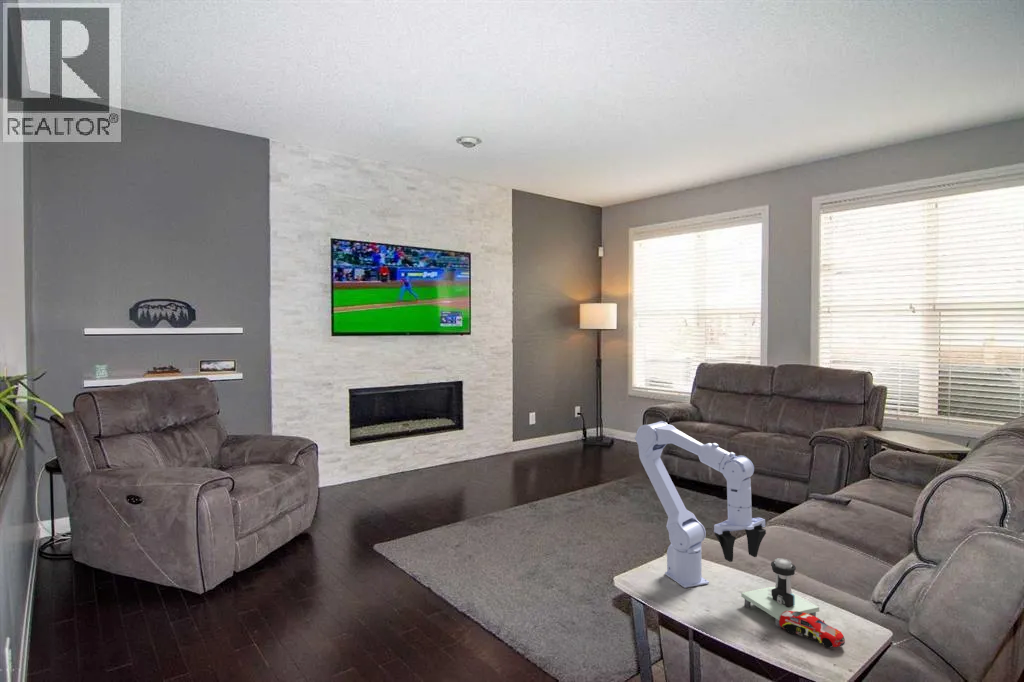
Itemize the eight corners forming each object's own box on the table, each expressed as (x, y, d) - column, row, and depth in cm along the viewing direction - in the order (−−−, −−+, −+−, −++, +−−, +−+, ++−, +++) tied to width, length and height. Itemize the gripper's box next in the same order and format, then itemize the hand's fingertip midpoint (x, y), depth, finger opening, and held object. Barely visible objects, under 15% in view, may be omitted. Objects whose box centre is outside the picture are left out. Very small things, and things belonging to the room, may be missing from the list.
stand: (741, 604, 135) (741, 592, 135) (779, 596, 139) (779, 585, 139) (779, 629, 124) (779, 616, 124) (819, 619, 128) (819, 607, 128)
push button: (761, 598, 132) (761, 557, 132) (775, 593, 135) (775, 553, 135) (786, 610, 127) (786, 567, 126) (800, 604, 129) (800, 563, 129)
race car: (849, 644, 117) (848, 625, 117) (838, 653, 114) (838, 634, 114) (787, 620, 127) (787, 603, 127) (776, 627, 124) (775, 610, 124)
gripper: (726, 512, 132) (728, 568, 132) (773, 505, 137) (775, 559, 137) (707, 504, 139) (709, 557, 139) (753, 498, 144) (754, 549, 144)
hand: (740, 558), depth 138 cm, fingers open, 7 cm apart
